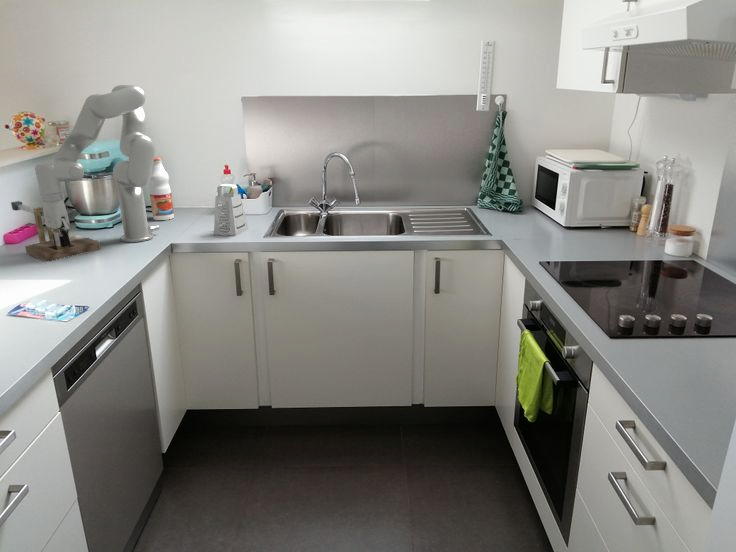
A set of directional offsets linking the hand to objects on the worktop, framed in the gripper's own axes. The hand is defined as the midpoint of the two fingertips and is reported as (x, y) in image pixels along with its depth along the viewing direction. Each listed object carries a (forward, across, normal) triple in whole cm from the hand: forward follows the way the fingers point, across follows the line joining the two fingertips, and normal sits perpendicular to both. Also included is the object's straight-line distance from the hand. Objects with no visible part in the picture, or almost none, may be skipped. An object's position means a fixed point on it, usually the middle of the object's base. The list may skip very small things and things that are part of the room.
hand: (62, 244), depth 221 cm
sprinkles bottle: (+3, 0, 0) cm, 3 cm away
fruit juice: (+5, -19, +56) cm, 59 cm away
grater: (+5, +26, +58) cm, 64 cm away
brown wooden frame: (+4, -4, +2) cm, 5 cm away
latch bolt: (-9, -21, 0) cm, 23 cm away
